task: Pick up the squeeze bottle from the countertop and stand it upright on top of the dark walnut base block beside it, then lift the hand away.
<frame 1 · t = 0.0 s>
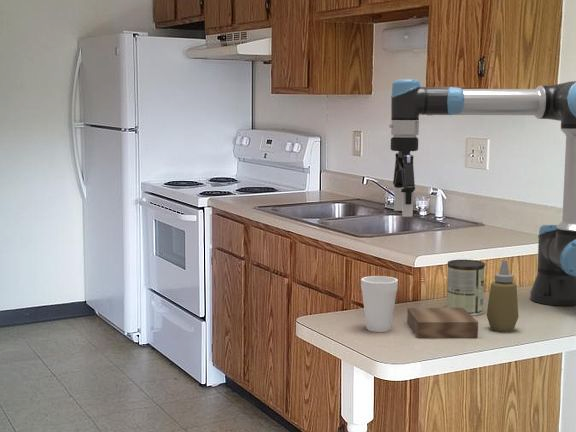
hand: (403, 213, 221), 28 cm above the breakfast bar, fingers open, 13 cm apart
squeeze bottle: (502, 329, 207), on the breakfast bar
foam cup: (378, 329, 207), on the breakfast bar
walnut base: (441, 329, 206), on the breakfast bar
coffee can: (464, 312, 226), on the breakfast bar
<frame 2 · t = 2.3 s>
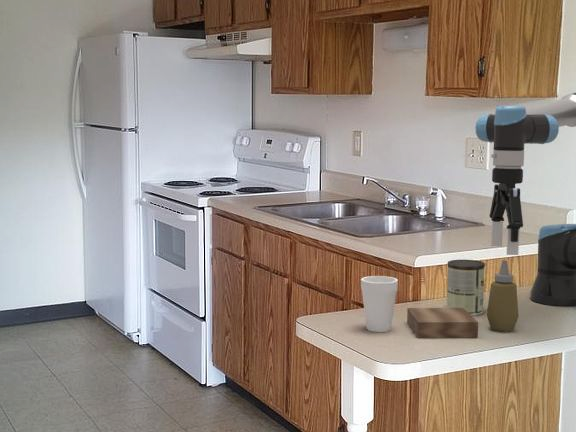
hand: (504, 250, 204), 21 cm above the breakfast bar, fingers open, 13 cm apart
nothing on the breakfast bar moved.
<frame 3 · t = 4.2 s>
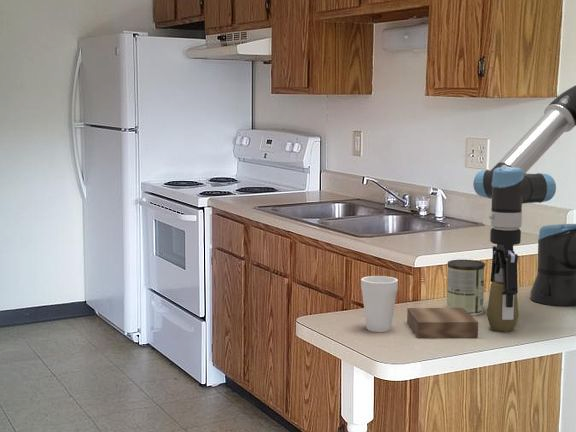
hand: (502, 314, 207), 4 cm above the breakfast bar, fingers closed on squeeze bottle, 8 cm apart
squeeze bottle: (502, 329, 207), on the breakfast bar, touching gripper
everything else where it was.
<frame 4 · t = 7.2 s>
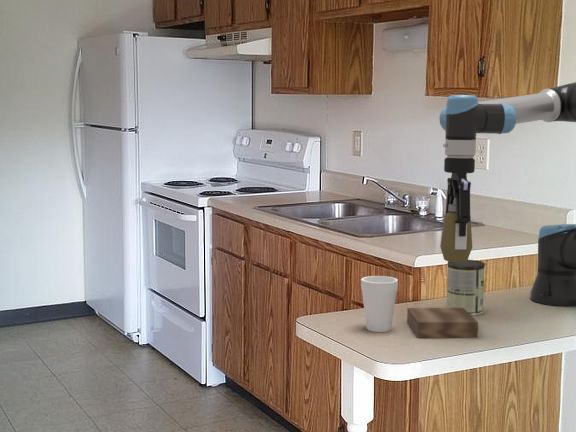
hand: (456, 246, 203), 22 cm above the breakfast bar, fingers closed on squeeze bottle, 8 cm apart
squeeze bottle: (455, 261, 204), point 18 cm above the breakfast bar, touching gripper
everything else where it was.
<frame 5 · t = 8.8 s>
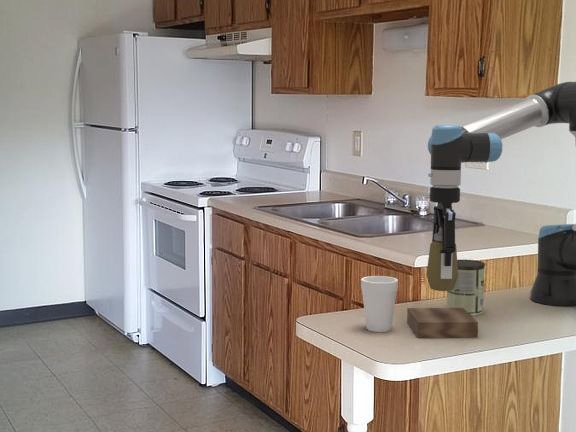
hand: (442, 274, 204), 14 cm above the breakfast bar, fingers closed on squeeze bottle, 8 cm apart
squeeze bottle: (441, 290, 205), point 11 cm above the breakfast bar, touching gripper
everything else where it was.
when the fingers open (9 cm above the breakfast bar, at t = 10.2 s): squeeze bottle drops 1 cm, resting on walnut base.
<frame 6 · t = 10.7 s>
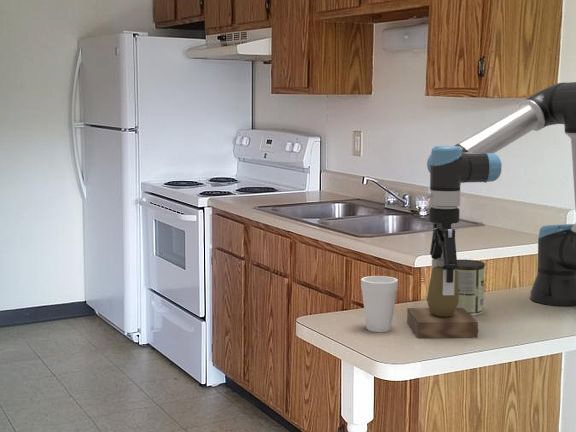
hand: (442, 289, 205), 11 cm above the breakfast bar, fingers open, 13 cm apart
squeeze bottle: (441, 315, 206), point 4 cm above the breakfast bar, touching walnut base
everything else where it was.
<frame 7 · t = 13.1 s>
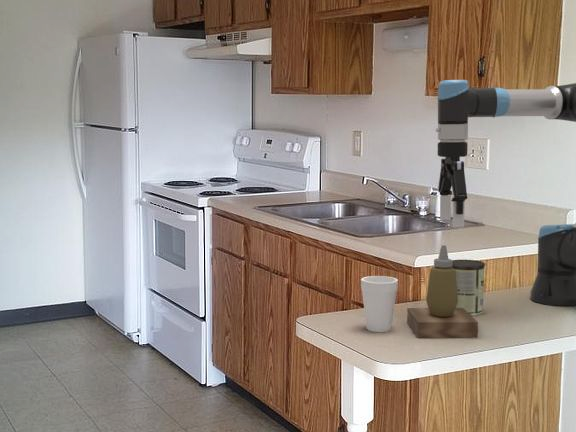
hand: (451, 223, 207), 27 cm above the breakfast bar, fingers open, 13 cm apart
nothing on the breakfast bar moved.
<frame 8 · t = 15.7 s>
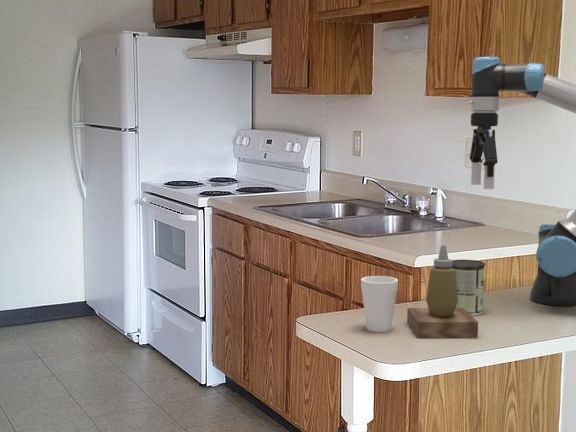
hand: (482, 186, 230), 35 cm above the breakfast bar, fingers open, 13 cm apart
nothing on the breakfast bar moved.
at the end: squeeze bottle inside the target area on the walnut base (0.0 cm from its centre), point 3.8 cm above the walnut base's base; squeeze bottle tilted 0°; the gripper is holding nothing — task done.
